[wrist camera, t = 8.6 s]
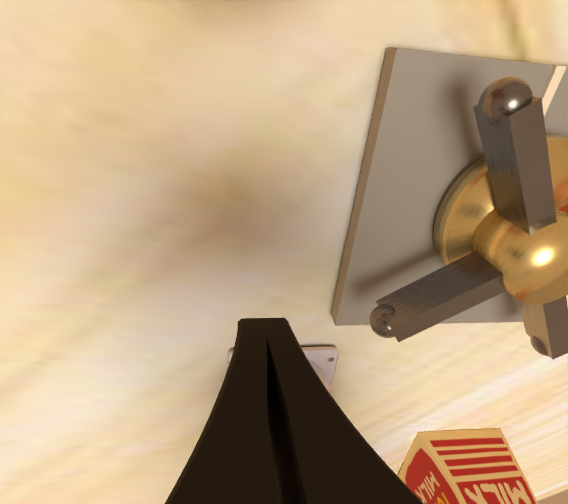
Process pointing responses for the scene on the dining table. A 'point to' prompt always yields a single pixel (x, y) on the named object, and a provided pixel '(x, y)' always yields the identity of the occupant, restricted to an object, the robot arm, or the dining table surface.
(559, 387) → the dining table surface
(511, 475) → the milk carton
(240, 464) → the robot arm
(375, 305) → the stand board
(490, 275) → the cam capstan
